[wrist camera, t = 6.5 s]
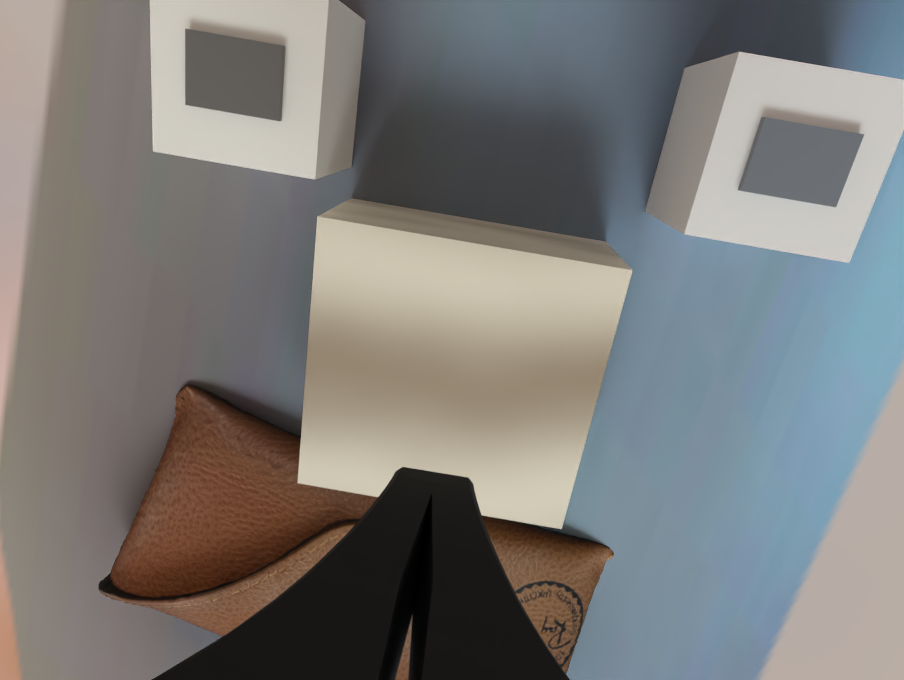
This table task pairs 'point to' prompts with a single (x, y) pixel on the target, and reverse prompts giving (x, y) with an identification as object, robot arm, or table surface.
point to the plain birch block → (455, 354)
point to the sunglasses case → (295, 533)
